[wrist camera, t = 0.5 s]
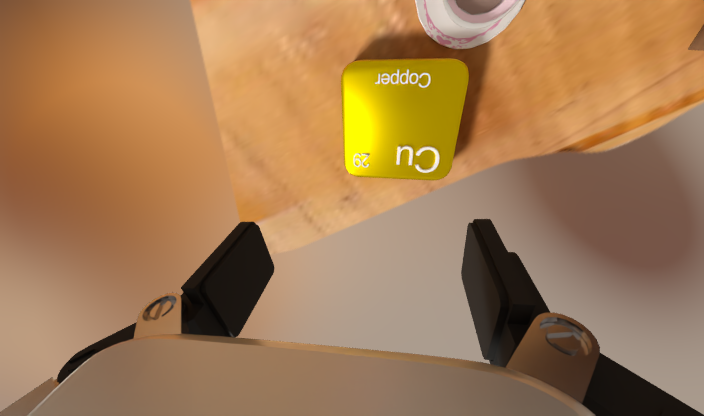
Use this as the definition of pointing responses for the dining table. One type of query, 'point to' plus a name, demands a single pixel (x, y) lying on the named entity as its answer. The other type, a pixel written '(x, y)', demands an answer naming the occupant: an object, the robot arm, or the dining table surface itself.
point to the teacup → (465, 20)
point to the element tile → (402, 116)
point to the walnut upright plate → (698, 41)
